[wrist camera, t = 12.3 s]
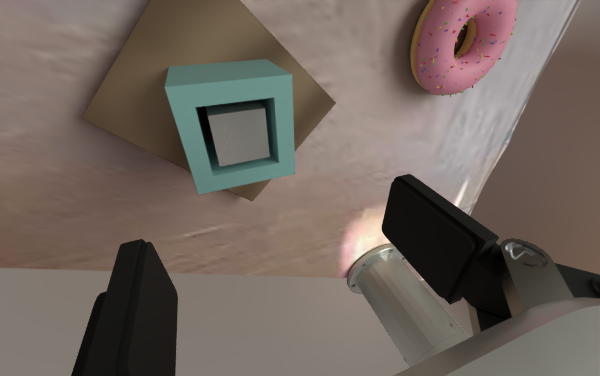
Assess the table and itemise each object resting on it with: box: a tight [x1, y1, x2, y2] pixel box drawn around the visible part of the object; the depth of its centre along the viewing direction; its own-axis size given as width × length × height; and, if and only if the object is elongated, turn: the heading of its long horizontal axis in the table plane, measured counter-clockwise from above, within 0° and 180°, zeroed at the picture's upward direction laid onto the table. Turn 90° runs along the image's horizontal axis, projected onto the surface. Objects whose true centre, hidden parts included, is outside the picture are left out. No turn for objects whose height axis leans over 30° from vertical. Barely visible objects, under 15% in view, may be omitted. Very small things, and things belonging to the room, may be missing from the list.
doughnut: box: [410, 0, 517, 96], centre depth 25 cm, size 11×11×4 cm
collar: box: [165, 59, 295, 194], centre depth 18 cm, size 7×7×6 cm
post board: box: [81, 0, 335, 201], centre depth 19 cm, size 15×13×8 cm
